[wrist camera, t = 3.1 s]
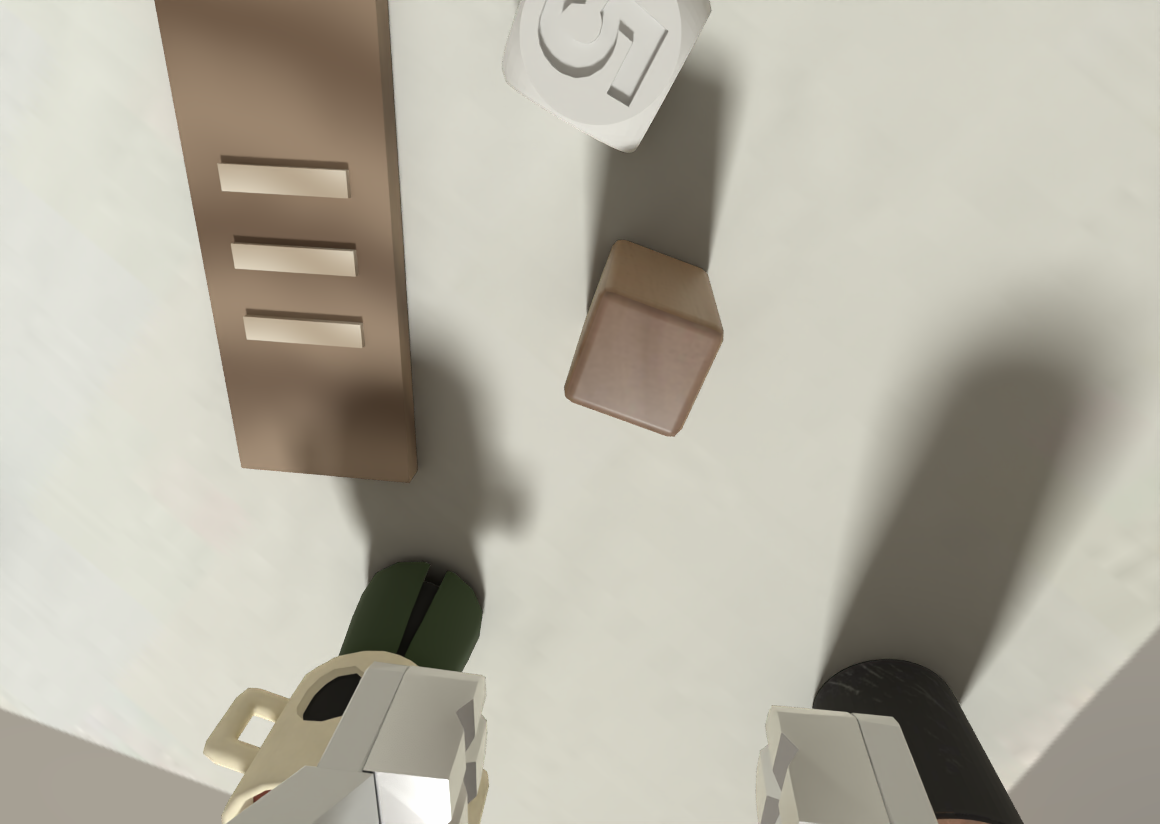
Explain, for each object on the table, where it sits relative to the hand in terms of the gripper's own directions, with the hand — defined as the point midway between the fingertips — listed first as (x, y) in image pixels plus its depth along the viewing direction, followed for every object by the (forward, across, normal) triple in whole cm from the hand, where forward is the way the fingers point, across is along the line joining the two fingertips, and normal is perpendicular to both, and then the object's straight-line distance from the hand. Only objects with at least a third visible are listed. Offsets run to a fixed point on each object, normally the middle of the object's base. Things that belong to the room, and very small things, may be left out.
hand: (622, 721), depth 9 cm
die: (+21, +2, -9) cm, 23 cm away
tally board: (+21, +14, -1) cm, 25 cm away
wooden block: (+21, 0, 0) cm, 21 cm away
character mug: (+21, +10, +17) cm, 29 cm away
